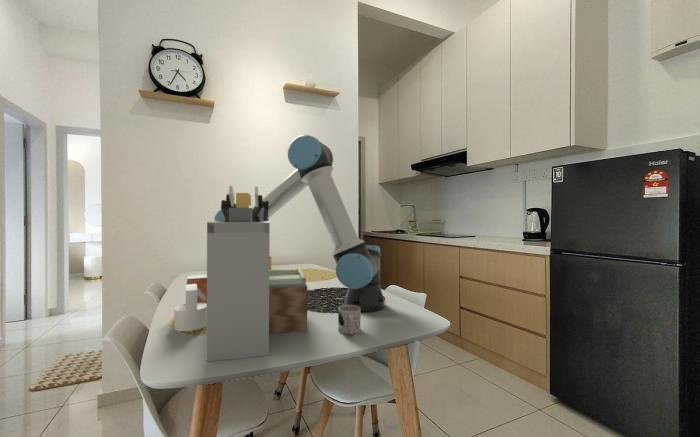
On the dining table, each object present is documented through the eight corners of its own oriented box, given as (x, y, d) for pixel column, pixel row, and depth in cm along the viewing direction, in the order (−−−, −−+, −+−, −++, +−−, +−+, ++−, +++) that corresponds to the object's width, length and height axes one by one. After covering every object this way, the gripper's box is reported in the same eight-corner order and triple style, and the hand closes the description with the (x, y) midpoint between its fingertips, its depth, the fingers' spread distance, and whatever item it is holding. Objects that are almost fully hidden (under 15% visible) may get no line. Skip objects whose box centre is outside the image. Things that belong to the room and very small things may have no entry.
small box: (186, 318, 101) (186, 278, 101) (186, 312, 106) (187, 275, 106) (213, 314, 104) (213, 276, 104) (212, 309, 110) (212, 273, 110)
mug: (337, 326, 95) (337, 305, 95) (358, 326, 95) (359, 304, 95) (339, 339, 85) (340, 315, 85) (363, 339, 85) (363, 315, 85)
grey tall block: (268, 335, 87) (269, 221, 87) (268, 355, 75) (269, 222, 75) (215, 340, 84) (216, 221, 83) (206, 361, 71) (207, 222, 71)
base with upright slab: (208, 328, 92) (208, 288, 92) (173, 334, 88) (173, 292, 88) (206, 319, 100) (206, 282, 100) (174, 323, 96) (174, 285, 96)
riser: (301, 312, 108) (301, 275, 108) (307, 330, 91) (307, 286, 91) (262, 315, 104) (263, 277, 104) (261, 334, 88) (261, 289, 88)
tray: (300, 275, 107) (300, 268, 107) (305, 286, 92) (305, 278, 92) (264, 277, 104) (264, 270, 104) (263, 288, 88) (263, 279, 88)
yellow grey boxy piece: (254, 228, 94) (254, 195, 94) (250, 232, 75) (250, 191, 75) (236, 228, 93) (237, 195, 92) (228, 232, 74) (229, 191, 74)
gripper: (277, 238, 105) (279, 202, 85) (217, 238, 100) (204, 200, 81) (276, 219, 109) (278, 180, 89) (219, 218, 104) (207, 177, 84)
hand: (243, 190), depth 85 cm, fingers open, 6 cm apart
